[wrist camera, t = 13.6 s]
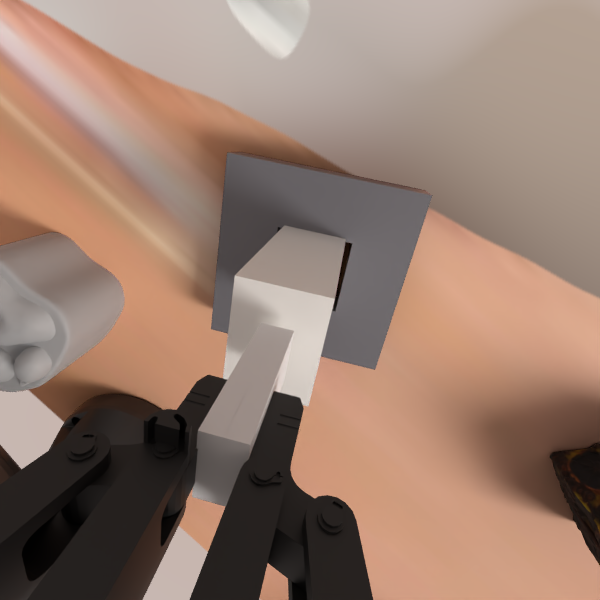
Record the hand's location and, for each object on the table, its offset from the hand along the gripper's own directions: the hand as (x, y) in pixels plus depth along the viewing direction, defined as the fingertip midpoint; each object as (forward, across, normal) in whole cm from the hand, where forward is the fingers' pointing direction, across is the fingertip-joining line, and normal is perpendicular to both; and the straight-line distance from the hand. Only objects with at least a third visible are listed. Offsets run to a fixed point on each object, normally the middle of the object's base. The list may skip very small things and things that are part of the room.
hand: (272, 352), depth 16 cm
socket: (+15, 0, 0) cm, 15 cm away
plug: (+14, 0, -2) cm, 14 cm away
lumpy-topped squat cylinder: (+15, -23, -10) cm, 30 cm away
